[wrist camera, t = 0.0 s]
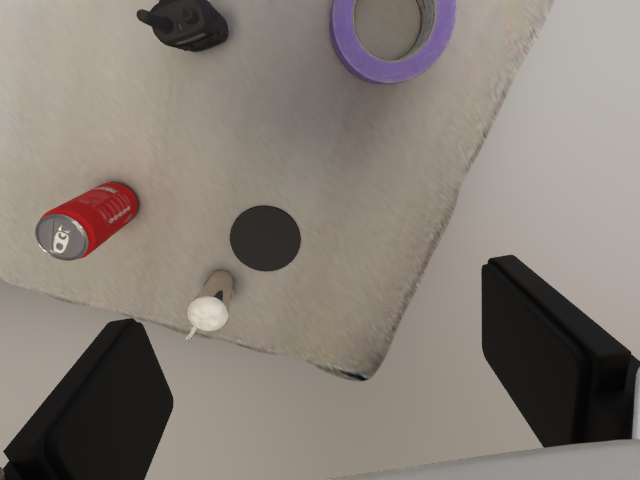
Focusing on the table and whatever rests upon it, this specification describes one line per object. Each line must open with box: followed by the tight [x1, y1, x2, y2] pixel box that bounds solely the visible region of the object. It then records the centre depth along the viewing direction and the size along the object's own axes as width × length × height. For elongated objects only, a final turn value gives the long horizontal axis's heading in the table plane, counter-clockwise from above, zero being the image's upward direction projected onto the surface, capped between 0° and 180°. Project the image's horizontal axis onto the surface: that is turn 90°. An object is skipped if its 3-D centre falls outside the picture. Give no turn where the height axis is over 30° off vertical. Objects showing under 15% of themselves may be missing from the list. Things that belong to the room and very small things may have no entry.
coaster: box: [230, 206, 301, 271], centre depth 49 cm, size 9×9×1 cm
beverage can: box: [35, 183, 138, 261], centre depth 41 cm, size 5×5×12 cm
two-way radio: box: [137, 0, 228, 52], centre depth 33 cm, size 6×4×15 cm
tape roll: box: [330, 0, 456, 84], centre depth 38 cm, size 12×12×5 cm
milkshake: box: [186, 270, 234, 342], centre depth 47 cm, size 4×5×10 cm
